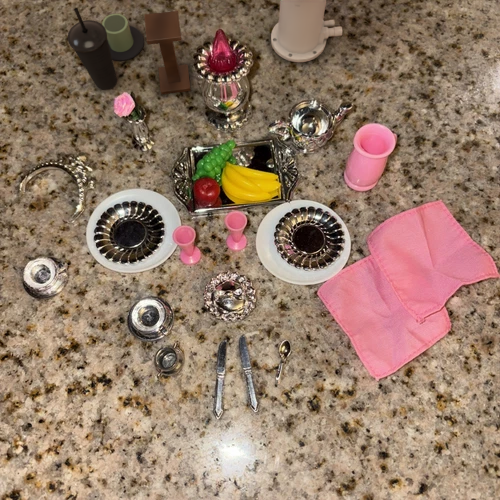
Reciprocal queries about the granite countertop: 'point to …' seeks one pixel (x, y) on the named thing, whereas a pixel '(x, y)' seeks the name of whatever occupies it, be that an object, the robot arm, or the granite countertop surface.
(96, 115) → the granite countertop surface
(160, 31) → the stand
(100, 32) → the drinking cup
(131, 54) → the coaster
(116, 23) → the sage cup
